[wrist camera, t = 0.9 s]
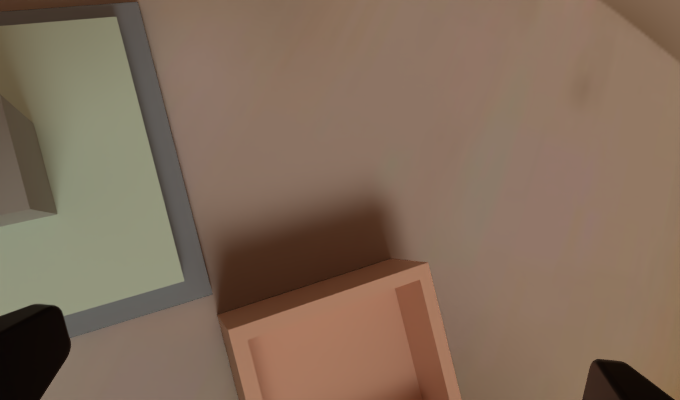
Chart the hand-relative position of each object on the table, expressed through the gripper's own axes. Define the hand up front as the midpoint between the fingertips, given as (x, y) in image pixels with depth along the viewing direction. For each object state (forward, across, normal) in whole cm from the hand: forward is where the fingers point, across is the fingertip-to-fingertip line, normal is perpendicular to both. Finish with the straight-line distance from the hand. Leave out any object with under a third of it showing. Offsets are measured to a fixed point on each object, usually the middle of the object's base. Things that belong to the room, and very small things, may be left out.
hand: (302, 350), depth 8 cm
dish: (+11, +2, +11) cm, 16 cm away
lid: (+8, +14, 0) cm, 16 cm away
